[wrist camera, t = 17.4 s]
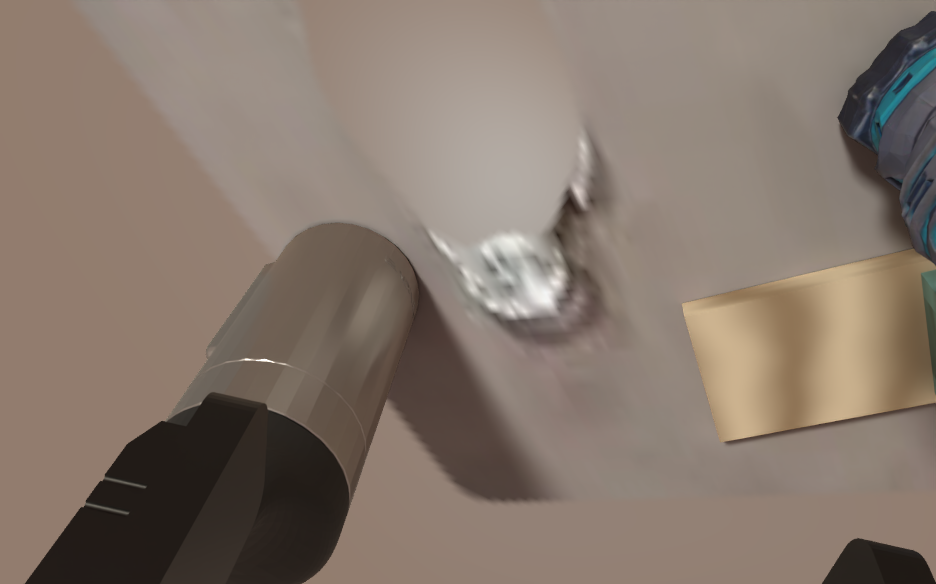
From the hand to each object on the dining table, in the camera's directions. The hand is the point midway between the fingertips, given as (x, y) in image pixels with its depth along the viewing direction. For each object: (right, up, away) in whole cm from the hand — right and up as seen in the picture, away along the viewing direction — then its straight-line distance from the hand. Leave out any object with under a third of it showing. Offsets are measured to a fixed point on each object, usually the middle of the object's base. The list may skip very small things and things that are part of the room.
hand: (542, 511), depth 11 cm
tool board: (+24, +1, +36) cm, 43 cm away
